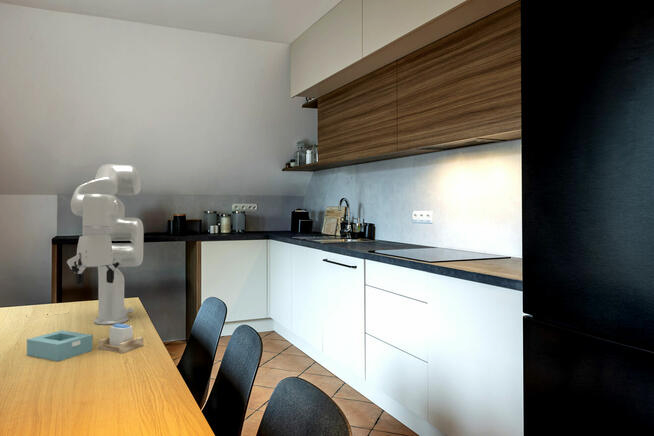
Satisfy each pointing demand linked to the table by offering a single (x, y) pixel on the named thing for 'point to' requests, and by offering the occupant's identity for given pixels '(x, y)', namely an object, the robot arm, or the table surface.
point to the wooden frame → (121, 345)
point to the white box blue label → (120, 334)
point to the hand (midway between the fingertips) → (95, 284)
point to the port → (59, 345)
